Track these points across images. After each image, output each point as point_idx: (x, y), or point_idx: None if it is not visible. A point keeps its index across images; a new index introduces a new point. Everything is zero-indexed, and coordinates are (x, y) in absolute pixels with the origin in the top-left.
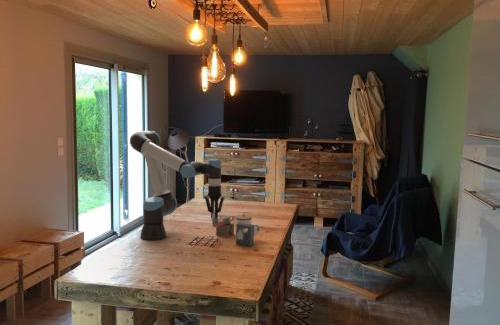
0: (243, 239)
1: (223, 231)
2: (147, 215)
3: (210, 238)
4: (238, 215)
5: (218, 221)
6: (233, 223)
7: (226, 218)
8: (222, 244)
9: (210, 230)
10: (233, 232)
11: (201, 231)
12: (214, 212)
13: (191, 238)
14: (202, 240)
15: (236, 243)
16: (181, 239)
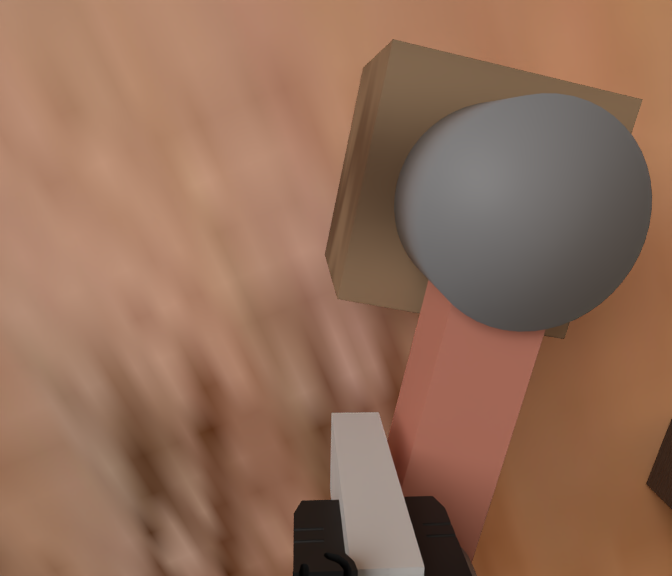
0: None
1: None
2: None
3: (307, 401)
4: None
5: (453, 488)
6: (633, 110)
7: (575, 263)
8: (509, 540)
9: (138, 27)
10: None
11: (37, 139)
12: (364, 568)
13: (91, 486)
14: (250, 503)
15: (658, 491)
16: (4, 560)
